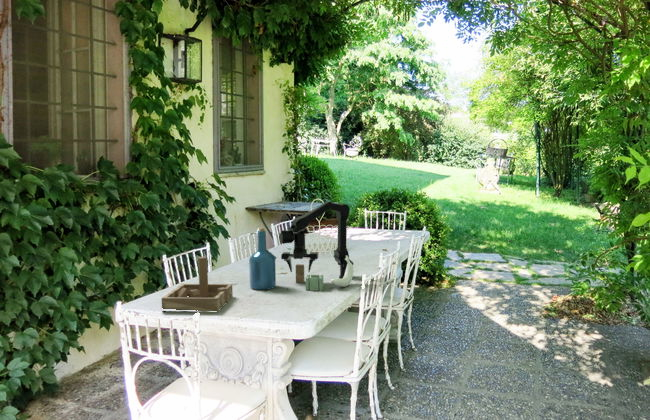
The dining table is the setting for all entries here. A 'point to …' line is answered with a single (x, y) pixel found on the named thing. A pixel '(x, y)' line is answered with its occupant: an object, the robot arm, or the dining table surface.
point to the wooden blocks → (201, 283)
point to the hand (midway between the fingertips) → (300, 272)
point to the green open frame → (314, 282)
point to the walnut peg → (300, 273)
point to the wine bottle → (262, 265)
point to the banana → (345, 275)
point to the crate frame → (197, 303)
